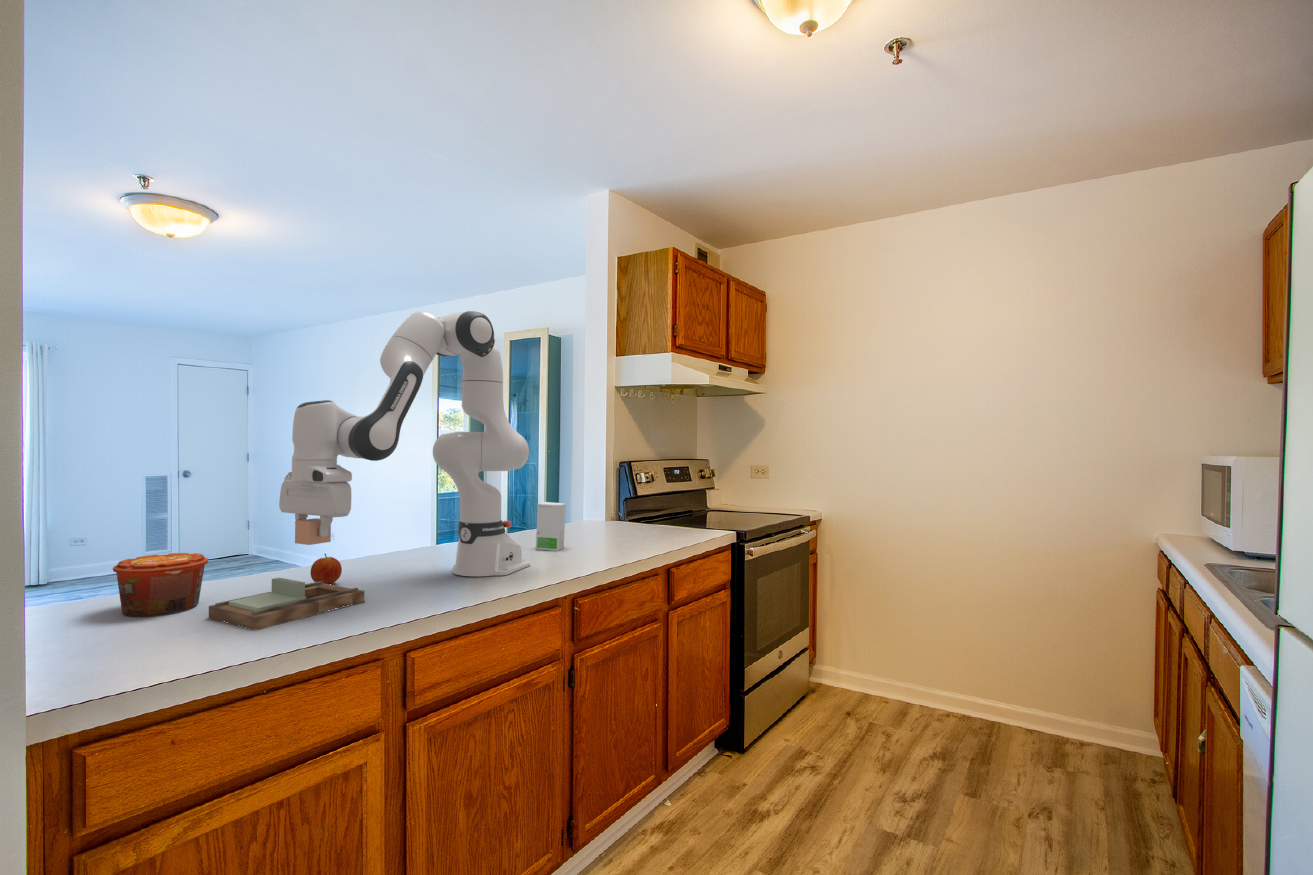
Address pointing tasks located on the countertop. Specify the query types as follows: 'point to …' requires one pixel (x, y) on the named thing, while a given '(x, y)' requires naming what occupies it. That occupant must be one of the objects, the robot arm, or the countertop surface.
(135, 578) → the food container
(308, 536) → the terracotta block
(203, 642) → the countertop surface
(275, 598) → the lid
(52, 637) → the countertop surface
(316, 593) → the puzzle board
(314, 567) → the fruit
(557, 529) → the skincare box
